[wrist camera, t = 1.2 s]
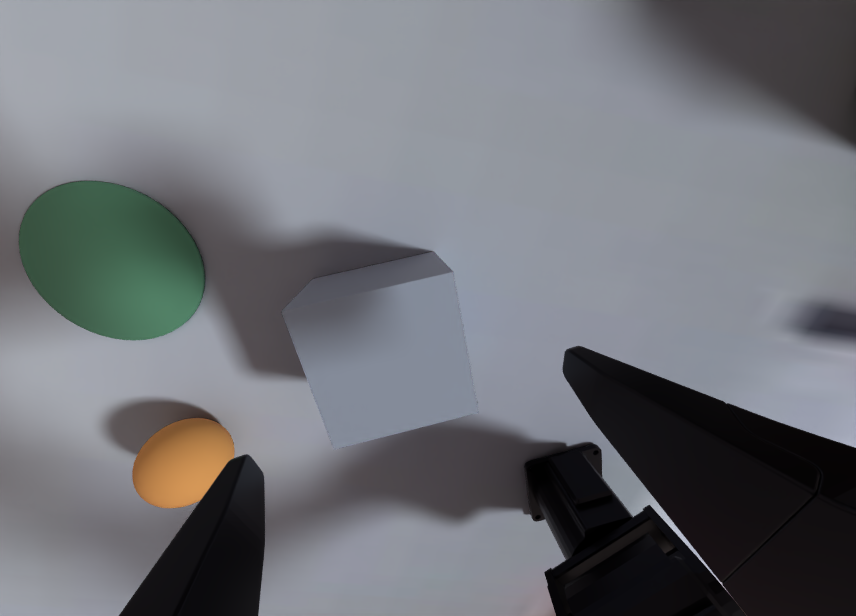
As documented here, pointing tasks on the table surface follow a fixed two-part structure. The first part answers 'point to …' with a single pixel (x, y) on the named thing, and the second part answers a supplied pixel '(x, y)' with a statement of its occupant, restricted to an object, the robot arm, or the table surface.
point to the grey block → (383, 348)
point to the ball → (181, 462)
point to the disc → (111, 260)
